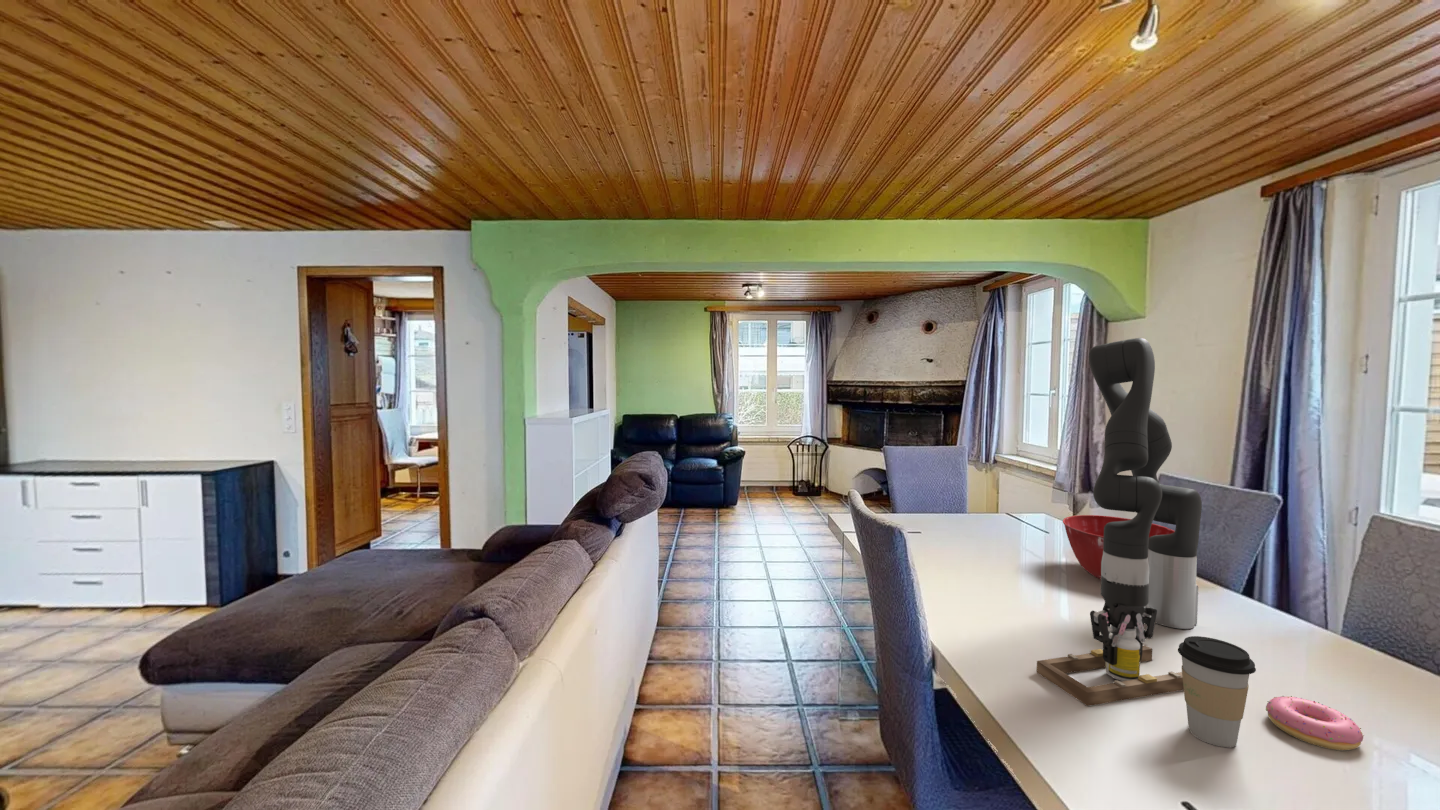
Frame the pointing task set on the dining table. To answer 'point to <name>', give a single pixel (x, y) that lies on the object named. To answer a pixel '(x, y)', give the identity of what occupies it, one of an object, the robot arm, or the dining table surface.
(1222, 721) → the coffee cup
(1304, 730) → the doughnut
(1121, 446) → the robot arm
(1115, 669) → the supplement bottle
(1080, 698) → the wooden u-shaped frame
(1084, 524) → the mixing bowl
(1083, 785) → the dining table surface
